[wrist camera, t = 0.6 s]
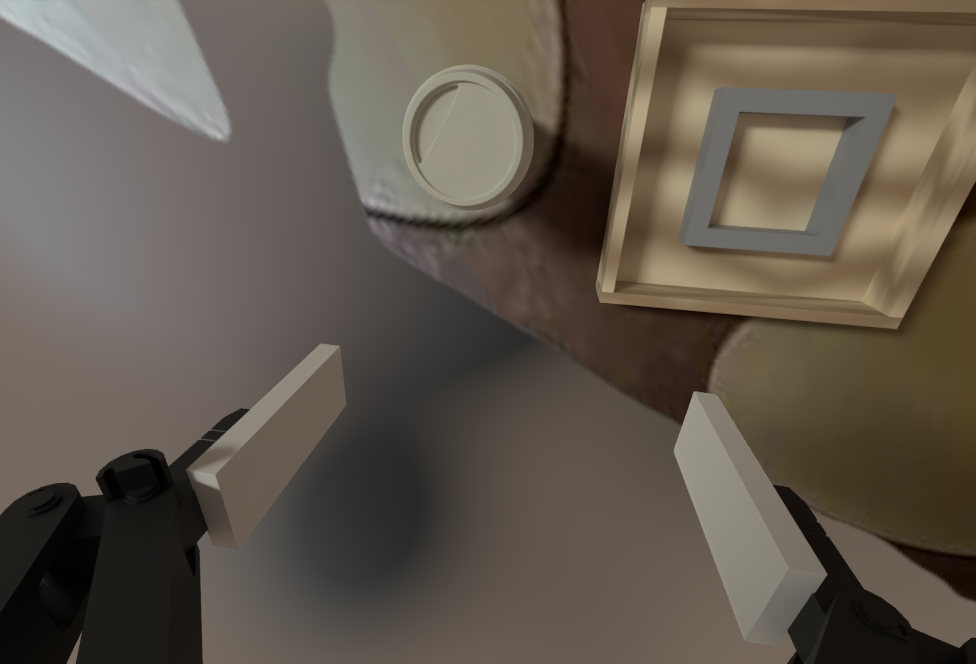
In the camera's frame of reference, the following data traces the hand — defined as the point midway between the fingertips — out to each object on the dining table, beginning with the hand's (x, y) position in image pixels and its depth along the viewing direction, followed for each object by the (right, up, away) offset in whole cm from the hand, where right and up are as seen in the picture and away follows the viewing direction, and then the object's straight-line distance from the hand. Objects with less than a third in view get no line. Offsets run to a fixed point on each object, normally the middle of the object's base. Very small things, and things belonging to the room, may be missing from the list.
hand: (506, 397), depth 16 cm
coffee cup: (-1, +19, +20) cm, 28 cm away
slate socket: (+22, +15, +18) cm, 33 cm away
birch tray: (+22, +15, +18) cm, 33 cm away
